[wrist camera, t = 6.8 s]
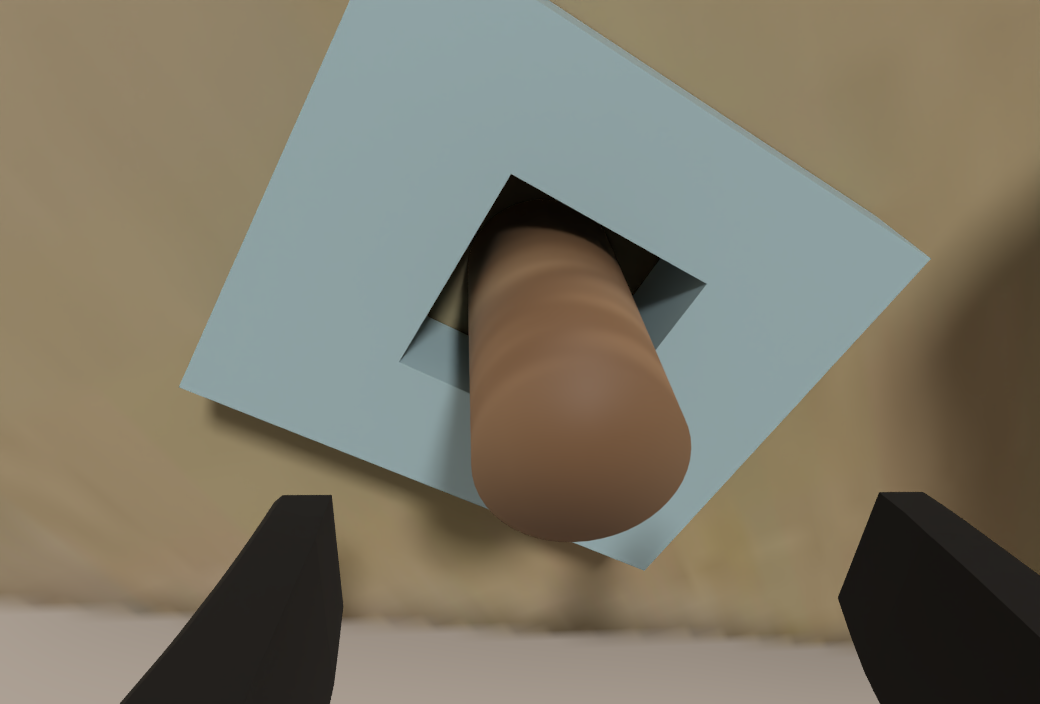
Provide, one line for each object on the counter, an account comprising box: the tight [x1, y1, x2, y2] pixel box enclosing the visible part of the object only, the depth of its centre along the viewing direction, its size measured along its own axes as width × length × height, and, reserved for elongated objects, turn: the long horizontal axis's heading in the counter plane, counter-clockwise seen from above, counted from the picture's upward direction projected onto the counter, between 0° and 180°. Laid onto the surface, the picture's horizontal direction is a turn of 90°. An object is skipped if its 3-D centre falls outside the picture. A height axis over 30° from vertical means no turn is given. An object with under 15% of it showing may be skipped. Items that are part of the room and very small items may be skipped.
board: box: [179, 0, 931, 571], centre depth 16 cm, size 12×10×2 cm
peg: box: [468, 199, 691, 542], centre depth 15 cm, size 3×3×7 cm
